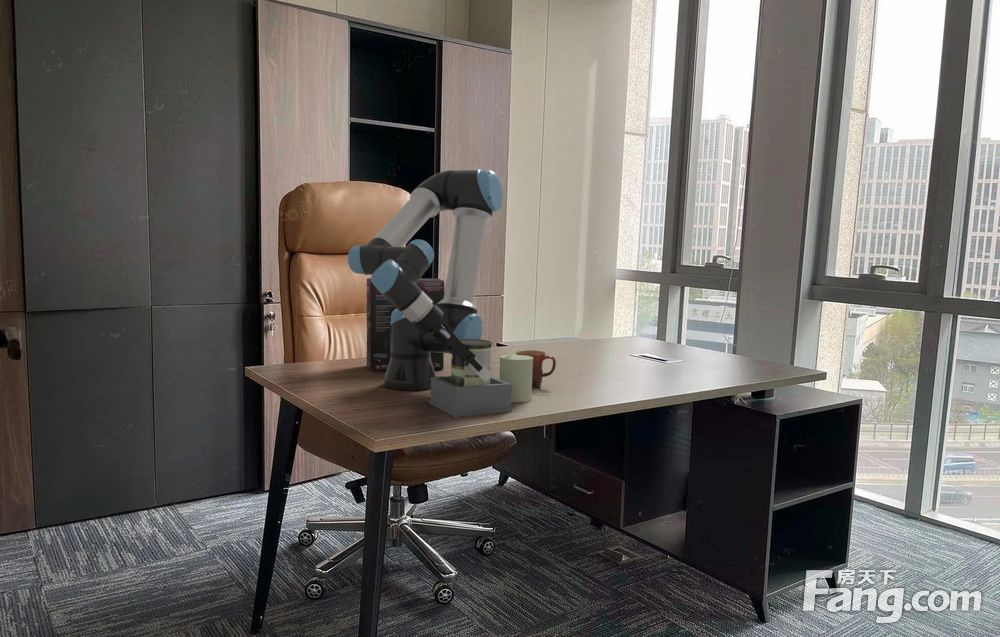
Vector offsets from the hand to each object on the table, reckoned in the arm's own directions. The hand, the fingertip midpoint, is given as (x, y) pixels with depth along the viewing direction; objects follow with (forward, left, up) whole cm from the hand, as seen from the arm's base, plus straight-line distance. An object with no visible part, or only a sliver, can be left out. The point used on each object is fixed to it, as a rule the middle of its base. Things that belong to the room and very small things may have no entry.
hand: (482, 374), depth 187 cm
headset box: (-62, +2, -9) cm, 62 cm away
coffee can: (-1, -3, -6) cm, 6 cm away
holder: (-1, -3, -8) cm, 9 cm away
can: (-6, +13, -9) cm, 17 cm away
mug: (-19, +27, -9) cm, 34 cm away
